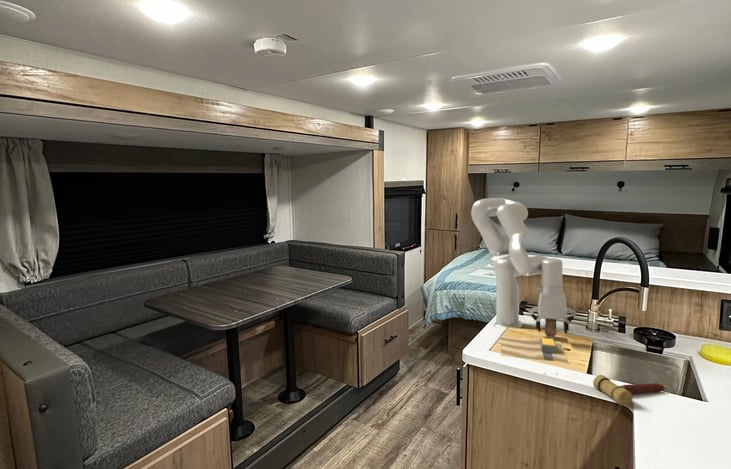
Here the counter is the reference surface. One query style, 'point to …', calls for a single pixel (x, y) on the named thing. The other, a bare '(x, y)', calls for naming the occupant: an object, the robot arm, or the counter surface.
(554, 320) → the brown grey cylinder
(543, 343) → the stud finder
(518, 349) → the subfloor board
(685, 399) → the counter surface
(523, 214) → the robot arm
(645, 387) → the gavel
